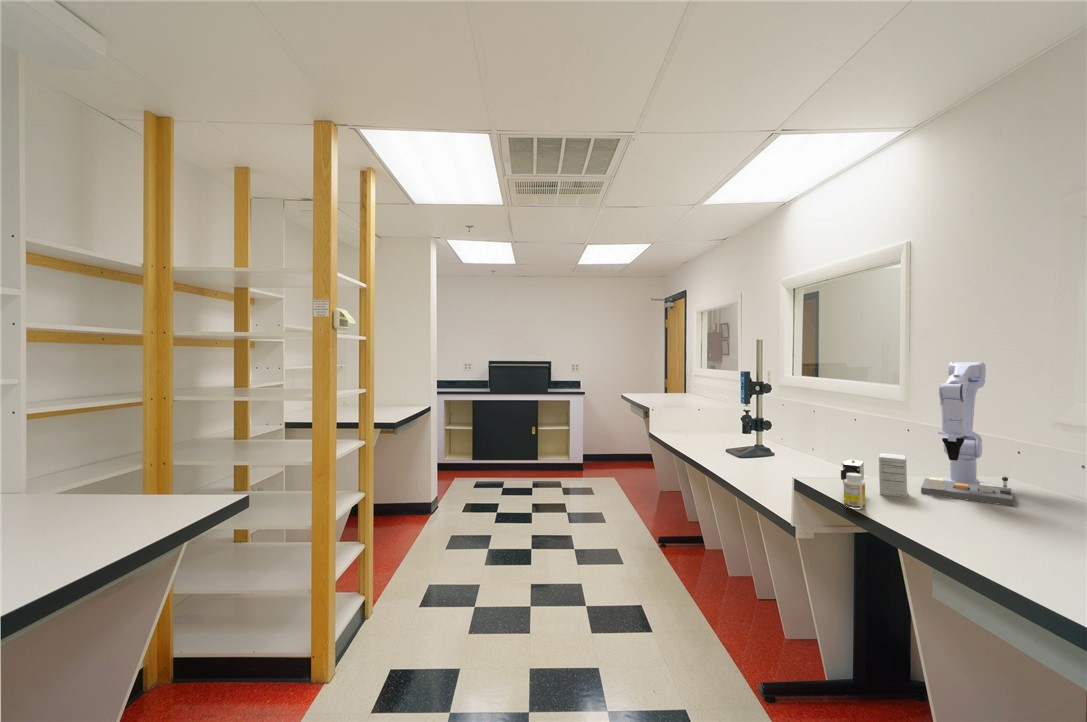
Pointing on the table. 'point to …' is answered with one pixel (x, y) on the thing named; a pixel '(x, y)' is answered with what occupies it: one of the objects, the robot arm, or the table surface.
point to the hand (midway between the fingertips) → (953, 460)
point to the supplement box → (893, 474)
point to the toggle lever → (1005, 481)
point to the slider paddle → (936, 483)
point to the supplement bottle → (854, 491)
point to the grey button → (986, 487)
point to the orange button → (961, 486)
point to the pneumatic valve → (852, 468)
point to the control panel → (970, 492)
